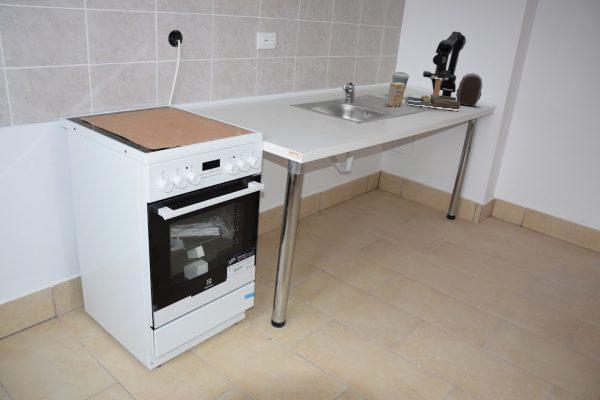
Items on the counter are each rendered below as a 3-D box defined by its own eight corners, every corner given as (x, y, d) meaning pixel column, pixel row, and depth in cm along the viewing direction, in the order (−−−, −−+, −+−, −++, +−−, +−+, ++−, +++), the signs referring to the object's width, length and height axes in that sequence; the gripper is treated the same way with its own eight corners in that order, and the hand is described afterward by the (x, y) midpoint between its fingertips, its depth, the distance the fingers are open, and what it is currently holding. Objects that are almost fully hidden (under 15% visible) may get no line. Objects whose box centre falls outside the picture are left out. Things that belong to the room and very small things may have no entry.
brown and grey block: (431, 97, 301) (434, 77, 296) (436, 97, 301) (439, 78, 296) (433, 100, 292) (436, 80, 287) (438, 101, 292) (441, 80, 287)
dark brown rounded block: (454, 104, 310) (461, 72, 302) (453, 101, 318) (460, 70, 310) (478, 108, 307) (486, 75, 299) (477, 105, 315) (485, 73, 307)
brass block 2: (428, 104, 297) (422, 104, 297) (429, 97, 295) (422, 97, 295) (429, 105, 293) (422, 105, 293) (430, 99, 292) (423, 98, 292)
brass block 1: (427, 101, 302) (420, 101, 302) (428, 95, 300) (421, 95, 301) (428, 103, 298) (421, 103, 299) (428, 97, 297) (421, 97, 297)
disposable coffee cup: (406, 99, 308) (411, 75, 302) (389, 97, 308) (393, 73, 302) (403, 96, 318) (408, 72, 312) (387, 94, 318) (391, 70, 312)
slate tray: (405, 100, 305) (406, 96, 304) (431, 103, 304) (432, 99, 303) (407, 105, 292) (408, 101, 291) (434, 108, 292) (435, 104, 291)
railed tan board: (429, 103, 305) (431, 94, 303) (453, 106, 304) (455, 97, 302) (432, 108, 291) (434, 99, 289) (458, 111, 291) (460, 102, 288)
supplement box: (392, 107, 283) (396, 84, 278) (386, 105, 287) (390, 82, 281) (401, 106, 288) (405, 83, 283) (395, 104, 292) (399, 82, 286)
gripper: (427, 63, 281) (422, 91, 287) (460, 67, 280) (454, 95, 286) (425, 61, 291) (419, 87, 298) (456, 64, 290) (451, 91, 297)
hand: (436, 90), depth 294 cm, fingers closed on brown and grey block, 3 cm apart
